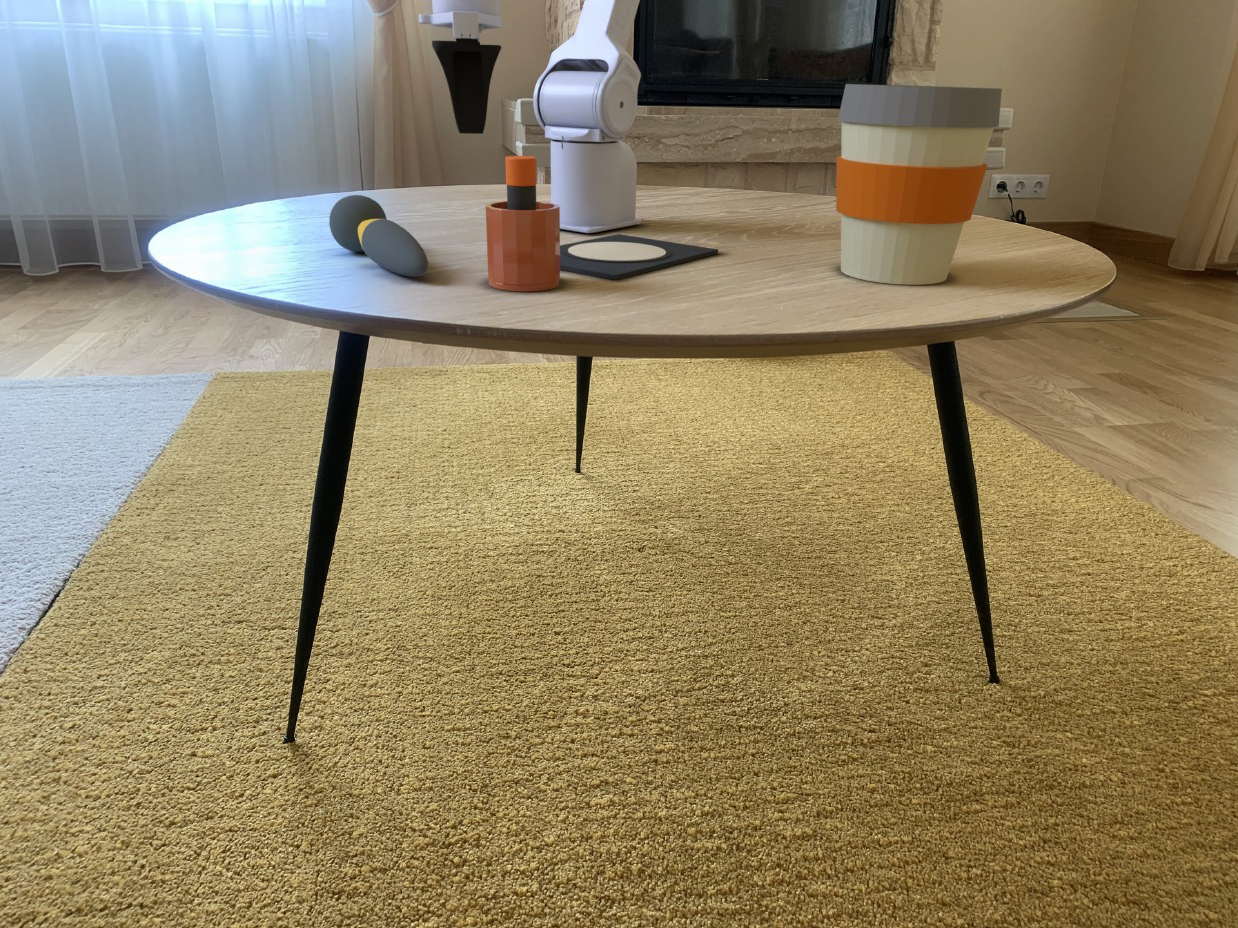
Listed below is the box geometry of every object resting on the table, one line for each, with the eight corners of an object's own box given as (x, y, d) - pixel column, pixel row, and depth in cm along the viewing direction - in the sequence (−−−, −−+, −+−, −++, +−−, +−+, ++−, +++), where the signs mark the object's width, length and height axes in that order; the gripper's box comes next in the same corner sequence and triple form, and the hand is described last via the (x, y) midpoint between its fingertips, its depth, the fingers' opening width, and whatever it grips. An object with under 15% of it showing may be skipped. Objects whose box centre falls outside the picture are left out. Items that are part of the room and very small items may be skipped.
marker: (522, 273, 70) (520, 155, 66) (544, 277, 69) (542, 157, 65) (502, 277, 68) (498, 156, 65) (524, 281, 67) (521, 159, 63)
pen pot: (522, 273, 72) (521, 198, 70) (574, 283, 69) (574, 205, 67) (473, 284, 68) (470, 205, 66) (525, 295, 65) (524, 213, 63)
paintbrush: (466, 279, 70) (463, 215, 68) (409, 286, 67) (403, 220, 65) (366, 241, 84) (361, 188, 82) (315, 246, 81) (308, 191, 79)
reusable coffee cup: (994, 290, 70) (1035, 90, 64) (842, 288, 70) (869, 85, 64) (935, 260, 82) (965, 87, 76) (804, 258, 81) (824, 83, 75)
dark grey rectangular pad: (618, 238, 89) (618, 232, 89) (718, 253, 82) (718, 247, 82) (508, 260, 77) (508, 253, 77) (615, 280, 71) (615, 273, 70)
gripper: (421, -35, 79) (431, 125, 84) (408, -56, 66) (421, 135, 71) (499, -32, 80) (504, 126, 85) (502, -52, 67) (507, 136, 72)
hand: (471, 130), depth 78 cm, fingers open, 7 cm apart
